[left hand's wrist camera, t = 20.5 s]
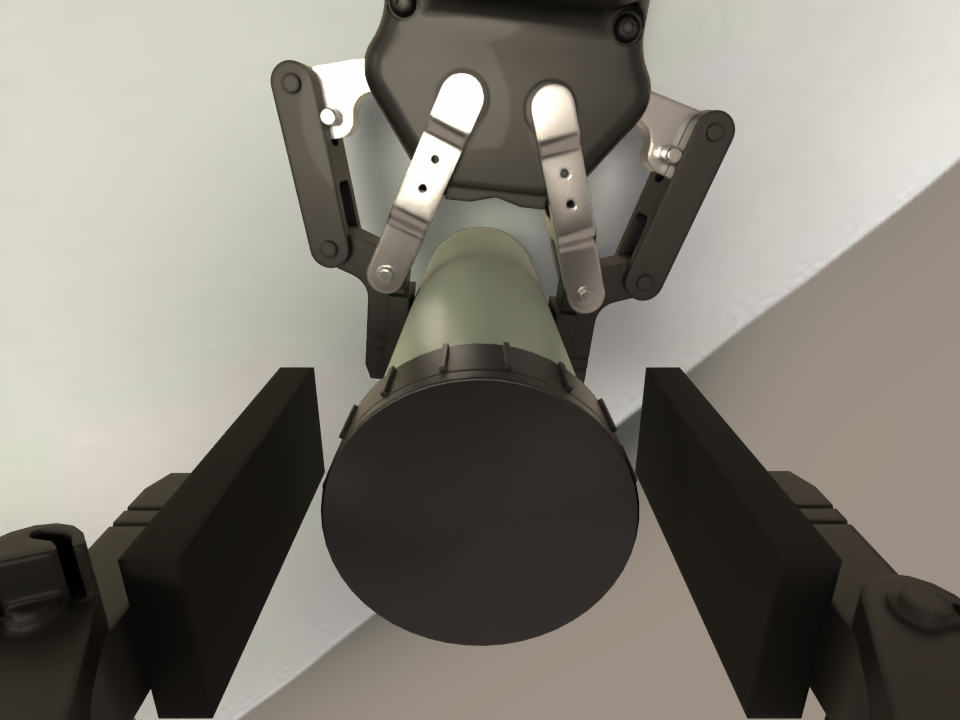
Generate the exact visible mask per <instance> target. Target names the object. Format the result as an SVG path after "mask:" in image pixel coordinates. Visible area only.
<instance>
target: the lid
mask: <svg viewBox="0 0 960 720" xmlns="http://www.w3.org/2000/svg"><path fill="white" fill-rule="evenodd" d="M615 431H617V428H616V426H615V424H614V422H613V420H612V417H611V415H610V413H609V411H608V409H607V407H606V404H605V402H604V401H603V399H602V398H601V399H599V400H597V398H596V397H595V395H594V394H593V393H592V392H591V391H590V390H589V389H588V388H587V387H586V386H585V385H584V383H583V382H582V381H580V380H579V379H578V378H577V377H575V376H574V375H573V374H572V373H570V372H569V371H568V370H567V369H566V367H565V364H564V363H562V362H561V361H560V362H559V363H558V364H557V363H555V362H553V361H552V360H550V359H547V358H545V357H543V356H540V355H538V354H536V353H533V352H530V351H527V350H523V349H520V348H516V347H511V346H510V345H509V343H508V342H503V345H499V344H481V343H474V344H463V345H454V346H450V347H449V344H448V343H447V344H443V346H442V348H440V349H436V350H433V351H431V352H428V353H425V354H422V355H419V356H417V357H415V358H413V359H411V360H409V361H407V362H405V363H403V364H402V365H400V366H399V367H397V368H395V367H394V366H392V367H390V368H389V370H388V372H387V375H386V376H385V377H384V378H382V379H381V380H380V381H379V382H378V383H377V384H376V385H375V386H374V387H373V388H372V389H371V390H370V391H369V393H368V394H367V395H366V396H365V397H364V399H363V400H362V401H361V403H360V405H359V406H356V405H354V406H353V407H352V409H351V412H350V414H349V416H348V418H347V420H346V422H345V424H344V427H343V429H342V431H341V433H340V435H339V437H340V438H341V439H342V441H341V443H340V445H339V448H338V450H337V452H336V454H335V457H334V459H333V461H332V464H331V466H330V468H329V471H328V473H327V476H326V478H325V481H324V483H323V492H322V504H321V518H322V529H323V533H324V538H325V542H326V546H327V548H328V551H329V554H330V556H331V559H332V561H333V563H334V565H335V567H336V569H337V570H338V572H339V574H340V576H341V577H342V579H343V580H344V581H345V583H346V584H347V585H348V587H349V588H350V589H351V590H352V592H353V593H354V594H355V595H356V596H357V597H358V598H359V599H360V600H361V601H362V602H363V603H364V604H365V605H367V606H368V607H369V608H371V609H372V610H373V611H374V612H376V613H377V614H378V615H380V616H381V617H383V618H384V619H386V620H388V621H389V622H391V623H393V624H394V625H396V626H398V627H401V628H403V629H405V630H407V631H409V632H411V633H414V634H417V635H420V636H423V637H426V638H428V639H433V640H437V641H441V642H446V643H452V644H460V645H476V646H487V645H501V644H508V643H514V642H520V641H524V640H528V639H531V638H535V637H538V636H541V635H544V634H546V633H549V632H551V631H554V630H556V629H558V628H560V627H562V626H564V625H566V624H568V623H569V622H571V621H573V620H575V619H576V618H578V617H579V616H580V615H582V614H583V613H585V612H586V611H588V610H589V609H590V608H591V607H592V606H593V605H595V604H596V603H597V602H598V601H599V600H600V599H601V598H602V597H603V596H604V595H605V594H606V593H607V592H608V591H609V589H610V588H611V587H612V586H613V585H614V583H615V582H616V580H617V579H618V577H619V576H620V574H621V573H622V571H623V570H624V568H625V566H626V564H627V562H628V559H629V557H630V555H631V553H632V549H633V546H634V543H635V540H636V536H637V530H638V523H639V498H638V492H637V486H636V482H637V477H636V475H635V473H634V470H633V468H632V466H631V464H630V462H629V459H628V457H627V455H626V453H625V450H624V448H623V446H622V445H621V444H620V442H619V440H618V438H617V435H616V433H615Z"/></svg>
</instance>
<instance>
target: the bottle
mask: <svg viewBox="0 0 960 720" xmlns="http://www.w3.org/2000/svg"><path fill="white" fill-rule="evenodd" d="M503 342H508V343H509V345H510V346H511V347H516V348H520V349H523V350H527V351H530V352H533V353H536V354H538V355H540V356H543V357H545V358H547V359H550V360H552V361H553V362H555V363H557V364H558V363H559V362H560V361H561V362H562V363H564V364H565V367H566V369H567V370H568V371H569V372H570V373H572V374H573V375H574V376H575V377H576V375H575V372H574V370H573V367H572V365H571V362H570V360H569V357H568V355H567V352H566V350H565V347H564V344H563V342H562V339H561V337H560V334H559V332H558V329H557V327H556V324H555V321H554V319H553V316H552V314H551V311H550V309H549V306H548V304H547V301H546V298H545V296H544V293H543V291H542V288H541V286H540V283H539V281H538V278H537V275H536V273H535V270H534V268H533V265H532V263H531V260H530V258H529V256H528V254H527V253H526V251H525V249H524V248H523V247H522V246H521V245H520V244H519V243H518V242H517V241H516V240H515V239H514V238H512V237H511V236H509V235H508V234H506V233H504V232H502V231H499V230H496V229H492V228H487V227H473V228H468V229H464V230H461V231H458V232H456V233H454V234H452V235H451V236H449V237H448V238H446V239H445V240H444V241H443V242H442V243H441V244H440V245H439V246H438V247H437V248H436V250H435V251H434V253H433V254H432V257H431V259H430V261H429V263H428V266H427V268H426V271H425V273H424V276H423V279H422V281H421V284H420V286H419V289H418V291H417V294H416V296H415V299H414V302H413V304H412V307H411V309H410V312H409V314H408V317H407V319H406V322H405V325H404V327H403V330H402V332H401V335H400V337H399V340H398V343H397V345H396V348H395V350H394V353H393V355H392V358H391V360H390V363H389V366H388V368H387V371H386V373H385V376H386V375H387V372H388V370H389V368H390V367H392V366H394V367H395V368H397V367H399V366H400V365H402V364H403V363H405V362H407V361H409V360H411V359H413V358H415V357H417V356H419V355H422V354H425V353H428V352H431V351H433V350H436V349H440V348H442V346H443V344H447V343H448V344H449V347H450V346H454V345H463V344H474V343H481V344H499V345H503ZM385 376H384V377H385Z"/></svg>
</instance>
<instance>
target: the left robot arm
mask: <svg viewBox="0 0 960 720" xmlns="http://www.w3.org/2000/svg"><path fill="white" fill-rule="evenodd" d="M324 473H325V469H324V460H323V450H322V441H321V431H320V422H319V412H318V403H317V393H316V383H315V374H314V368H280V369H279V370H278V371H277V372H276V373H275V374H274V376H273V377H272V378H271V379H270V380H269V382H268V383H267V384H266V385H265V386H264V387H263V389H262V390H261V391H260V392H259V393H258V395H257V396H256V397H255V398H254V399H253V400H252V402H251V403H250V404H249V405H248V406H247V408H246V409H245V410H244V411H243V412H242V413H241V415H240V416H239V417H238V418H237V419H236V421H235V422H234V423H233V424H232V425H231V426H230V428H229V429H228V430H227V431H226V432H225V434H224V435H223V436H222V437H221V438H220V440H219V441H218V442H217V443H216V444H215V445H214V447H213V448H212V449H211V450H210V451H209V453H208V454H207V455H206V456H205V457H204V458H203V460H202V461H201V462H200V463H199V464H198V466H197V467H196V468H195V469H194V470H193V471H192V473H171V474H169V475H167V476H166V477H164V478H162V479H161V480H159V481H157V482H156V483H154V484H152V485H151V486H149V487H147V488H146V489H144V490H143V492H142V493H141V494H140V495H139V496H138V497H137V498H136V499H135V500H134V501H133V502H132V503H131V504H130V505H129V506H128V510H127V511H124V512H123V513H122V514H121V515H120V516H119V517H118V518H117V519H116V520H115V521H114V522H113V527H109V528H108V529H107V530H106V531H105V532H104V533H103V534H102V535H101V536H100V537H99V538H98V540H97V541H96V542H95V543H94V544H93V545H92V546H91V547H90V548H89V549H88V548H87V544H86V541H85V537H84V534H83V532H82V531H80V530H79V529H77V528H76V527H75V526H72V525H65V524H58V523H55V524H45V525H35V526H32V527H28V528H24V529H21V530H17V531H13V532H10V533H8V534H6V535H3V536H1V537H0V720H135V715H136V713H137V711H138V710H139V708H140V706H141V705H142V703H143V701H144V699H145V698H146V696H147V694H148V693H149V691H150V689H151V691H152V694H153V698H154V702H155V706H156V710H157V714H158V717H159V718H213V716H214V714H215V712H216V710H217V708H218V705H219V703H220V701H221V699H222V697H223V694H224V692H225V690H226V688H227V686H228V683H229V681H230V679H231V677H232V675H233V672H234V670H235V668H236V666H237V664H238V662H239V659H240V657H241V655H242V653H243V651H244V648H245V646H246V644H247V642H248V640H249V637H250V635H251V633H252V631H253V629H254V626H255V624H256V622H257V620H258V618H259V615H260V613H261V611H262V609H263V607H264V604H265V602H266V600H267V598H268V596H269V593H270V591H271V589H272V587H273V585H274V583H275V580H276V578H277V576H278V574H279V572H280V569H281V567H282V565H283V563H284V561H285V558H286V556H287V554H288V552H289V550H290V547H291V545H292V543H293V541H294V539H295V536H296V534H297V532H298V530H299V528H300V525H301V523H302V521H303V519H304V517H305V514H306V512H307V510H308V508H309V506H310V504H311V501H312V499H313V497H314V495H315V493H316V490H317V488H318V486H319V484H320V482H321V479H322V477H323V475H324ZM635 473H636V475H637V477H638V479H639V482H640V484H641V486H642V488H643V490H644V493H645V495H646V497H647V499H648V501H649V504H650V506H651V508H652V510H653V512H654V514H655V517H656V519H657V521H658V523H659V525H660V528H661V530H662V532H663V534H664V536H665V539H666V541H667V543H668V545H669V547H670V549H671V552H672V554H673V556H674V558H675V561H676V563H677V565H678V567H679V569H680V572H681V574H682V576H683V578H684V580H685V582H686V585H687V587H688V589H689V591H690V593H691V596H692V598H693V600H694V602H695V604H696V607H697V609H698V611H699V613H700V615H701V618H702V620H703V622H704V624H705V626H706V628H707V631H708V633H709V635H710V637H711V640H712V642H713V644H714V646H715V648H716V651H717V653H718V655H719V657H720V659H721V662H722V664H723V666H724V668H725V670H726V672H727V675H728V677H729V679H730V681H731V683H732V686H733V688H734V690H735V692H736V694H737V697H738V699H739V701H740V703H741V705H742V708H743V710H744V712H745V714H746V716H747V718H801V717H802V714H803V710H804V706H805V702H806V698H807V694H808V691H809V687H810V688H811V689H812V691H813V693H814V695H815V696H816V698H817V700H818V701H819V703H820V705H821V706H822V708H823V710H824V711H825V713H826V716H825V720H960V598H959V597H957V596H956V595H954V594H952V593H950V592H948V591H946V590H944V589H942V588H940V587H938V586H936V585H935V584H933V583H929V582H926V581H923V580H920V579H917V578H913V577H910V576H904V575H898V574H897V573H896V572H895V571H894V569H893V568H892V567H891V566H890V565H889V564H888V563H887V562H886V561H885V560H884V559H883V558H882V557H881V556H880V555H879V554H878V553H877V552H876V550H875V549H874V548H873V547H872V546H871V545H870V544H869V543H868V542H867V541H866V540H865V539H864V538H863V537H862V536H861V534H860V533H859V532H858V531H857V530H856V529H855V528H854V527H853V526H852V525H848V523H847V520H846V519H845V518H844V516H843V515H842V514H841V513H840V512H839V511H838V510H837V509H833V505H832V504H831V503H830V502H829V501H828V500H827V498H825V496H824V495H823V494H822V493H821V492H820V491H819V490H818V489H817V488H816V487H815V486H813V485H812V484H810V483H808V482H807V481H805V480H803V479H802V478H800V477H798V476H797V475H795V474H793V473H791V472H790V471H767V470H766V469H765V468H764V467H763V466H762V464H761V463H760V462H759V461H758V460H757V458H756V457H755V456H754V455H753V454H752V453H751V451H750V450H749V449H748V448H747V447H746V445H745V444H744V443H743V442H742V441H741V440H740V438H739V437H738V436H737V435H736V434H735V432H734V431H733V430H732V429H731V428H730V427H729V425H728V424H727V423H726V422H725V421H724V419H723V418H722V417H721V416H720V415H719V413H718V412H717V411H716V410H715V409H714V408H713V406H712V405H711V404H710V403H709V402H708V401H707V399H706V398H705V397H704V396H703V395H702V393H701V392H700V391H699V390H698V389H697V388H696V386H695V385H694V384H693V383H692V382H691V380H690V379H689V378H688V377H687V376H686V374H685V373H684V372H683V371H682V370H681V369H680V368H646V374H645V383H644V393H643V403H642V412H641V422H640V431H639V441H638V450H637V460H636V469H635Z"/></svg>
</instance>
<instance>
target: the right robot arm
mask: <svg viewBox="0 0 960 720" xmlns="http://www.w3.org/2000/svg"><path fill="white" fill-rule="evenodd" d="M649 1H650V0H385V4H384V11H383V15H382V19H381V22H380V25H379V27H378V30H377V32H376V34H375V36H374V37H373V39H372V41H371V42H370V44H369V46H368V48H367V51H366V54H365V58H362V59H355V60H349V61H343V62H336V63H330V64H323V65H317V66H307V65H304V64H302V63H299V62H296V61H293V60H287V61H283V62H281V63H279V64H278V65H277V66H276V67H275V68H274V70H273V72H272V75H271V87H272V91H273V96H274V100H275V104H276V108H277V112H278V117H279V121H280V125H281V129H282V133H283V137H284V142H285V146H286V150H287V154H288V158H289V163H290V167H291V171H292V175H293V179H294V184H295V188H296V192H297V196H298V200H299V204H300V209H301V213H302V217H303V221H304V225H305V230H306V234H307V238H308V242H309V246H310V251H311V254H312V256H313V258H314V259H315V261H316V262H317V263H319V264H320V265H322V266H324V267H327V268H335V267H337V268H339V269H341V270H343V271H345V272H348V273H350V274H352V275H354V276H356V277H357V278H359V279H360V280H361V281H362V282H363V284H364V285H365V287H366V289H367V292H368V318H367V343H366V347H367V348H366V366H367V369H368V372H369V374H370V377H371V378H376V379H382V378H384V376H385V373H386V371H387V368H388V366H389V363H390V360H391V358H392V355H393V353H394V350H395V348H396V345H397V343H398V340H399V337H400V335H401V332H402V330H403V327H404V325H405V322H406V319H407V317H408V314H409V312H410V309H411V307H412V304H413V302H414V299H415V289H416V282H410V272H411V266H412V264H413V262H414V260H415V258H416V255H417V253H418V251H419V249H420V246H421V244H422V242H423V240H424V238H425V235H426V233H427V231H428V229H429V226H430V224H431V222H432V220H433V218H434V216H435V213H436V211H437V209H438V207H439V205H440V202H441V200H442V198H443V196H445V199H451V200H460V201H469V202H470V201H476V200H482V199H488V198H499V199H502V200H504V201H507V202H509V203H512V204H514V205H517V206H519V207H526V208H535V209H543V214H544V219H545V224H546V228H547V231H548V235H549V238H550V243H551V248H552V253H553V257H554V262H555V267H556V272H557V277H558V288H557V294H556V297H551V296H549V303H548V306H549V309H550V311H551V314H552V316H553V319H554V321H555V324H556V327H557V329H558V332H559V334H560V337H561V339H562V342H563V344H564V347H565V350H566V352H567V355H568V357H569V360H570V362H571V365H572V367H573V370H574V372H575V375H576V377H577V378H578V379H579V380H580V381H582V382H583V383H584V380H585V375H586V369H587V363H588V358H589V352H590V346H591V341H592V335H593V330H594V324H595V320H596V317H597V315H598V313H599V312H600V311H601V309H603V308H604V307H605V306H607V305H608V304H610V303H613V302H617V301H621V300H625V299H630V298H634V299H636V300H641V301H644V300H649V299H652V298H653V297H655V296H656V295H657V294H658V293H659V292H660V290H661V289H662V286H663V284H664V282H665V280H666V278H667V276H668V274H669V272H670V270H671V268H672V266H673V263H674V261H675V259H676V257H677V255H678V253H679V251H680V249H681V247H682V245H683V242H684V240H685V238H686V236H687V234H688V232H689V230H690V228H691V226H692V224H693V222H694V219H695V217H696V215H697V213H698V211H699V209H700V207H701V205H702V203H703V201H704V199H705V196H706V194H707V192H708V190H709V188H710V186H711V184H712V182H713V180H714V178H715V175H716V173H717V171H718V169H719V167H720V165H721V163H722V161H723V159H724V157H725V155H726V152H727V150H728V148H729V146H730V144H731V142H732V140H733V137H734V134H735V125H734V121H733V119H732V118H731V116H730V115H729V114H727V113H726V112H724V111H720V110H701V111H699V110H696V109H694V108H691V107H689V106H686V105H684V104H681V103H679V102H677V101H674V100H672V99H669V98H667V97H664V96H662V95H659V94H657V93H654V92H652V91H651V83H650V78H649V74H648V71H647V68H646V65H645V61H644V54H643V35H644V29H645V24H646V18H647V12H648V7H649ZM371 94H372V95H373V97H374V98H375V100H376V102H377V103H378V105H379V107H380V109H381V110H382V112H383V114H384V115H385V117H386V119H387V120H388V122H389V124H390V126H391V127H392V129H393V131H394V132H395V134H396V136H397V137H398V139H399V141H400V143H401V144H402V146H403V148H404V149H405V151H406V153H407V154H408V156H409V158H410V160H411V163H410V166H409V168H408V171H407V173H406V175H405V178H404V180H403V182H402V185H401V187H400V189H399V192H398V194H397V197H396V199H395V201H394V204H393V206H392V209H391V211H390V214H389V218H388V221H387V224H386V226H385V228H384V231H383V233H382V235H381V238H380V237H378V236H376V235H374V234H372V233H369V232H367V231H365V230H363V229H361V225H360V220H359V215H358V211H357V206H356V201H355V196H354V191H353V186H352V181H351V177H350V172H349V167H348V162H347V157H346V152H345V148H344V143H343V138H347V137H349V136H351V135H352V134H353V133H354V132H355V131H356V129H357V127H358V123H359V115H358V112H359V107H360V104H361V102H362V101H363V100H364V99H365V98H366V97H367V96H368V95H371ZM635 125H637V126H638V127H639V129H640V130H641V132H642V135H643V146H642V150H641V161H642V164H643V165H644V167H645V168H646V169H647V170H648V171H650V172H651V173H650V175H649V178H648V180H647V182H646V184H645V187H644V189H643V191H642V194H641V196H640V198H639V200H638V203H637V205H636V207H635V209H634V212H633V214H632V216H631V219H630V221H629V223H628V225H627V228H626V230H625V232H624V234H623V237H622V239H621V241H620V244H619V246H618V248H617V250H616V253H615V255H614V256H610V257H606V258H602V259H599V257H598V252H597V246H596V227H595V222H594V216H593V210H592V205H591V199H590V194H589V188H588V182H587V177H588V176H589V175H590V173H591V172H592V171H593V170H594V169H595V168H596V167H597V166H598V165H599V164H600V163H601V162H602V160H603V159H604V158H605V157H606V156H607V155H608V154H609V153H610V152H611V151H612V150H613V148H614V147H615V146H616V145H617V144H618V143H619V142H620V141H621V140H622V139H623V138H624V137H625V135H626V134H627V133H628V132H629V131H630V130H631V129H632V128H633V127H634V126H635Z"/></svg>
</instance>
